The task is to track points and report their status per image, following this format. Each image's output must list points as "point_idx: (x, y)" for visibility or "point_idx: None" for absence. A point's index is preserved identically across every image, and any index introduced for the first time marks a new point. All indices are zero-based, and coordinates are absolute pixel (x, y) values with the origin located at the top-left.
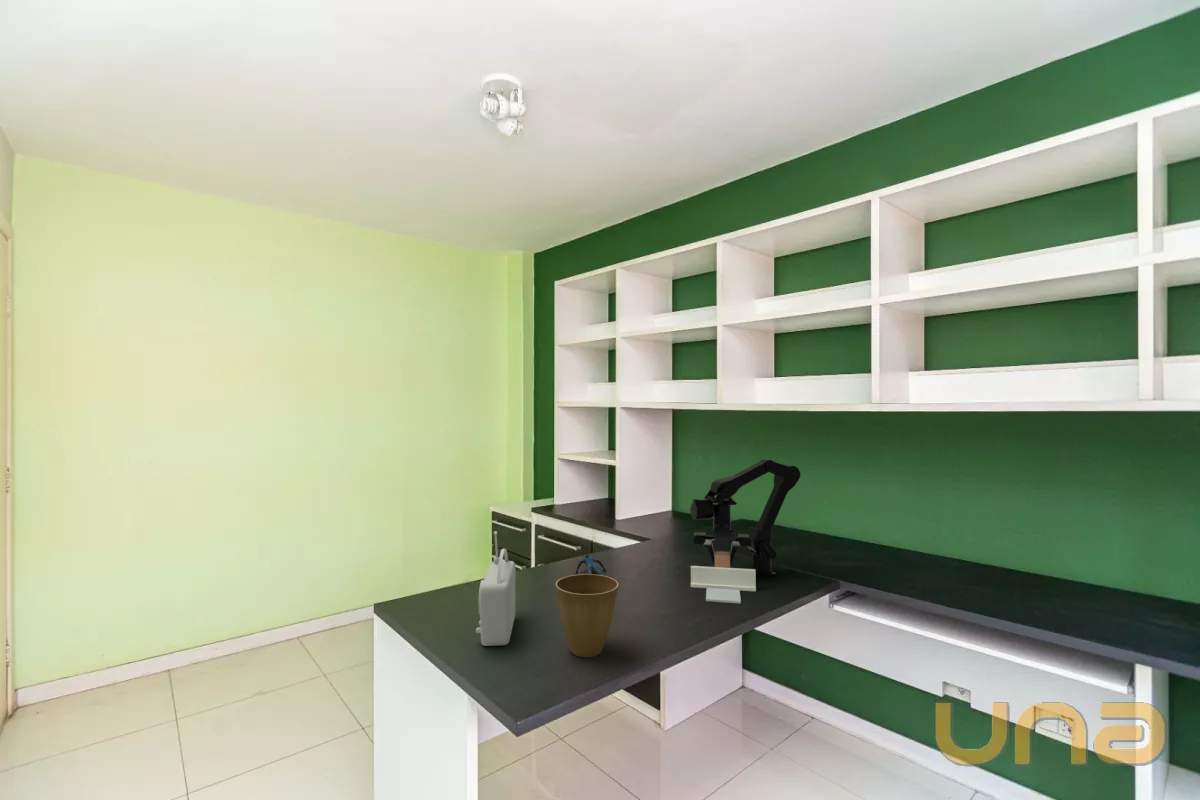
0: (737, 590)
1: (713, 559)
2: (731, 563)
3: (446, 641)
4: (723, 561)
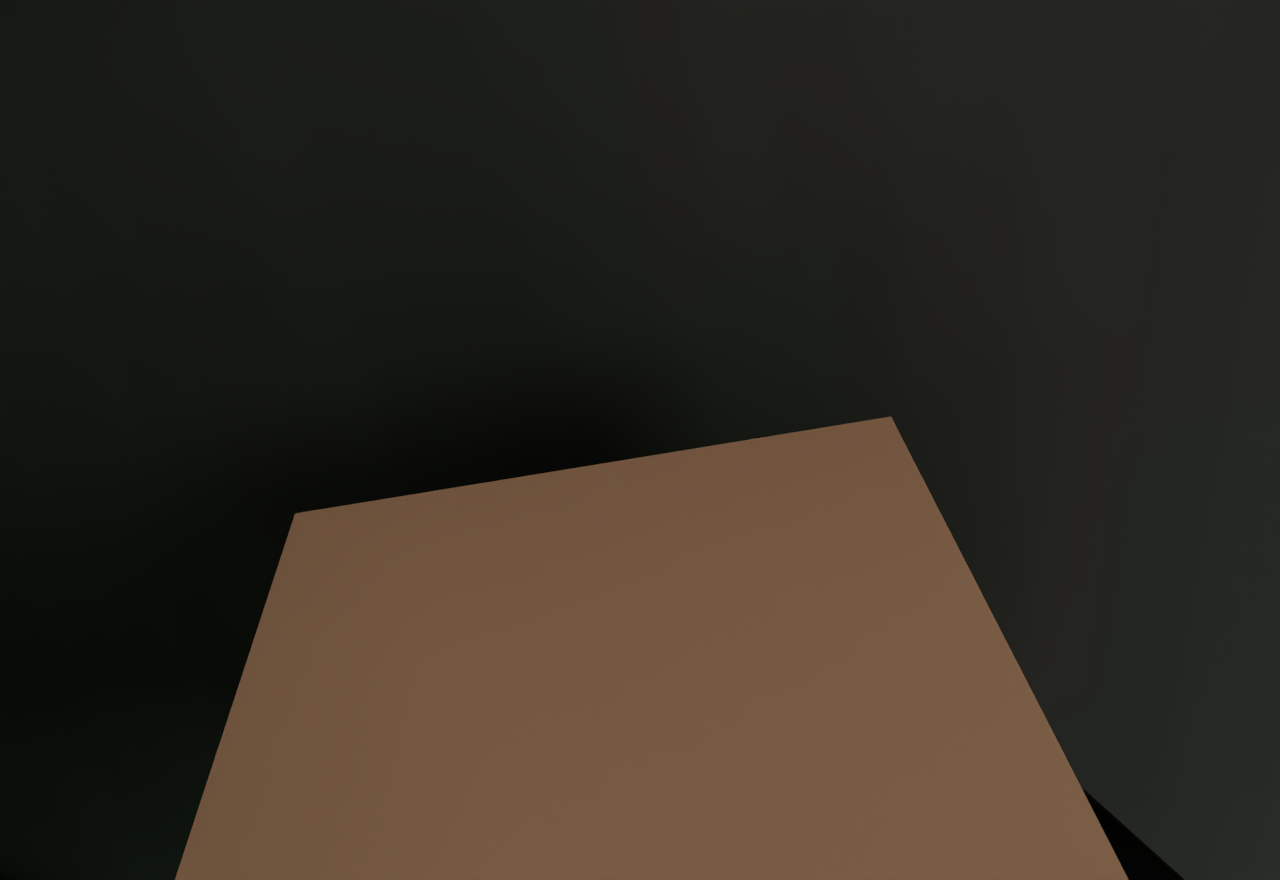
0: None
1: None
2: None
3: None
4: (544, 780)
